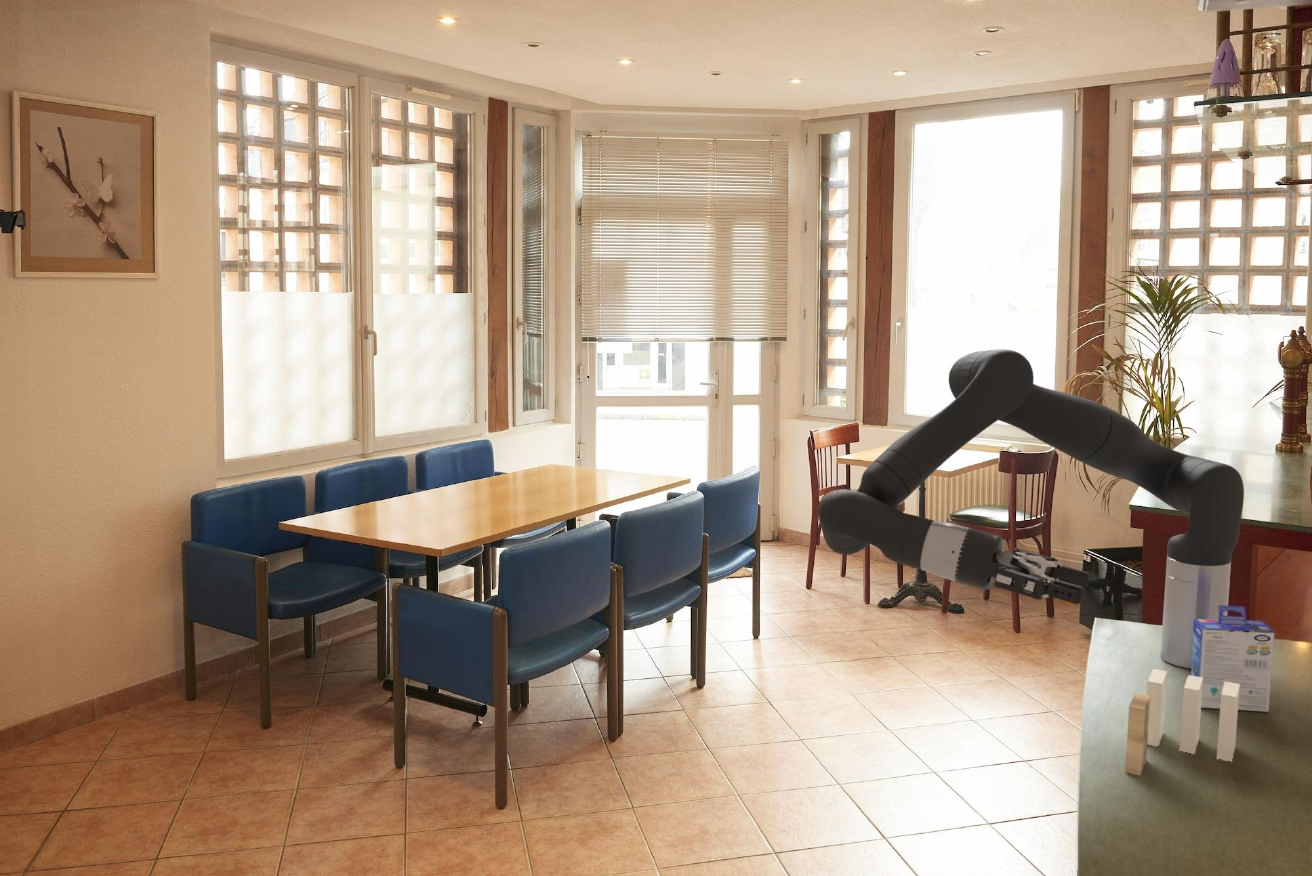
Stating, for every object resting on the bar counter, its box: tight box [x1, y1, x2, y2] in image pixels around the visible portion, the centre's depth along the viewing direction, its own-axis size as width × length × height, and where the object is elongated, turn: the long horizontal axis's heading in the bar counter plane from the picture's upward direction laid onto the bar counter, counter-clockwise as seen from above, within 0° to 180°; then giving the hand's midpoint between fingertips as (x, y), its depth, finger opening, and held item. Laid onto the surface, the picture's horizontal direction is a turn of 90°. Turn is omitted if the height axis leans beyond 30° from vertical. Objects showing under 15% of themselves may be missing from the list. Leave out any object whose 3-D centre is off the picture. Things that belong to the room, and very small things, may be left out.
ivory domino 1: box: [1146, 668, 1168, 747], centre depth 146 cm, size 5×2×9 cm, turn 148°
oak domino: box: [1124, 692, 1150, 777], centre depth 138 cm, size 5×2×9 cm, turn 148°
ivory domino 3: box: [1216, 681, 1240, 763], centre depth 142 cm, size 5×2×9 cm, turn 148°
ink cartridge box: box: [1190, 605, 1276, 713], centre depth 157 cm, size 10×6×14 cm, turn 78°
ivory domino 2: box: [1179, 674, 1203, 755], centre depth 144 cm, size 5×2×9 cm, turn 148°
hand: (1085, 588), depth 139 cm, fingers open, 8 cm apart
